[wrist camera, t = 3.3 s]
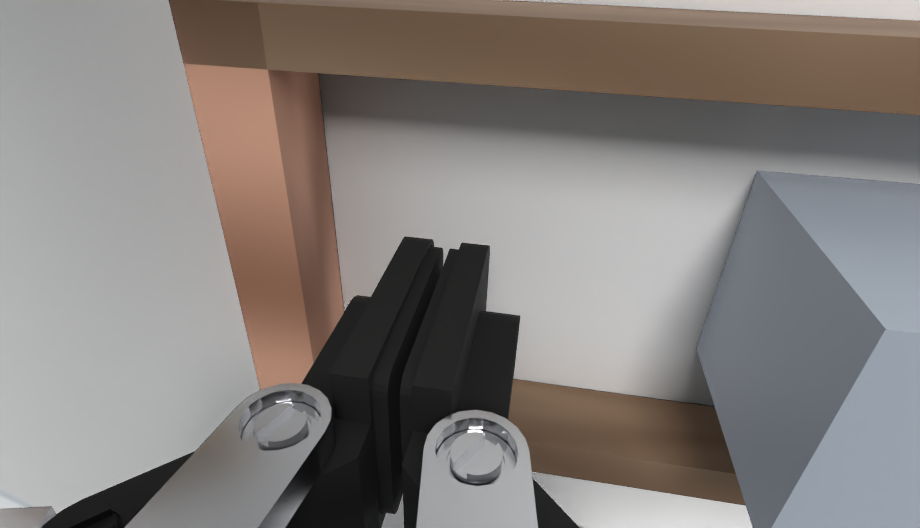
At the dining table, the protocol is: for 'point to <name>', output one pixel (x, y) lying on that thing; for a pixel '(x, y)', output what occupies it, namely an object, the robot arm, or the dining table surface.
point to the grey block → (821, 352)
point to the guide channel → (501, 64)
